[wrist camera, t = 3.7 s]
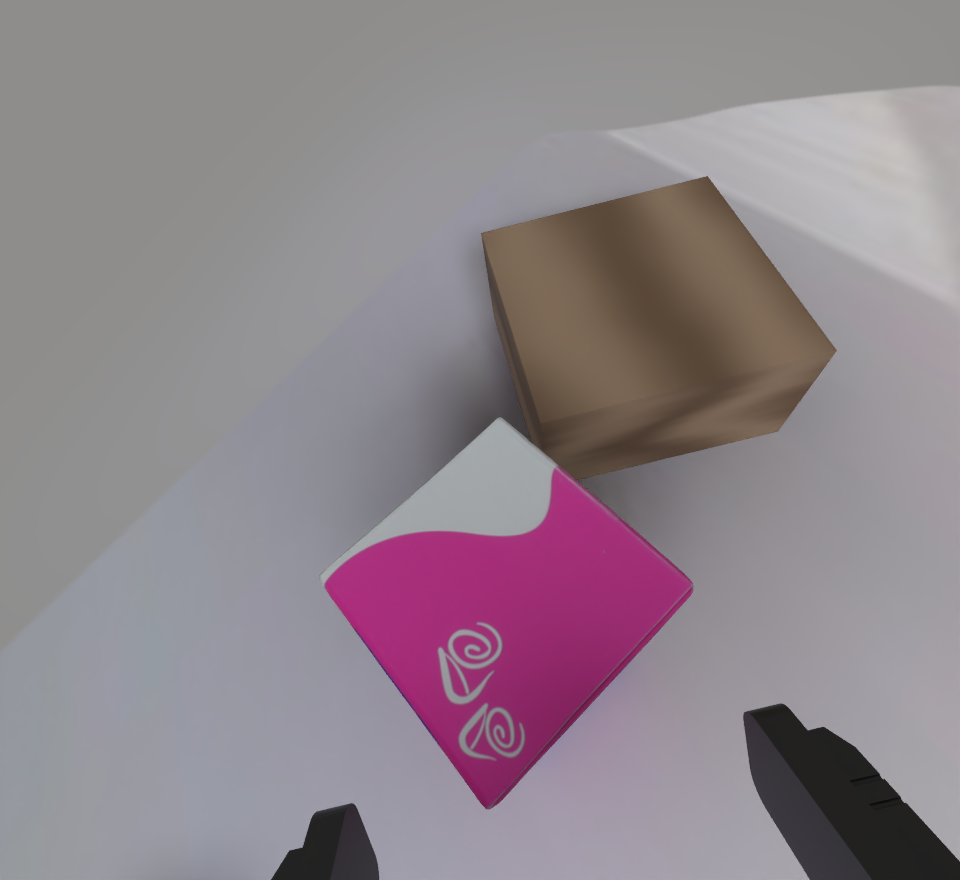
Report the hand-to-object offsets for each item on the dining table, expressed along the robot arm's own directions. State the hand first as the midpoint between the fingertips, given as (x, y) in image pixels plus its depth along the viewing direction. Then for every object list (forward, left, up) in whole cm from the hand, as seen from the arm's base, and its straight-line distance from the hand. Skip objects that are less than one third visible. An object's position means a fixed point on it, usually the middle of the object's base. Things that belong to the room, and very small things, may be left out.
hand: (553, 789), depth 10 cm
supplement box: (0, +4, -9) cm, 10 cm away
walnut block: (+8, +16, -10) cm, 20 cm away
